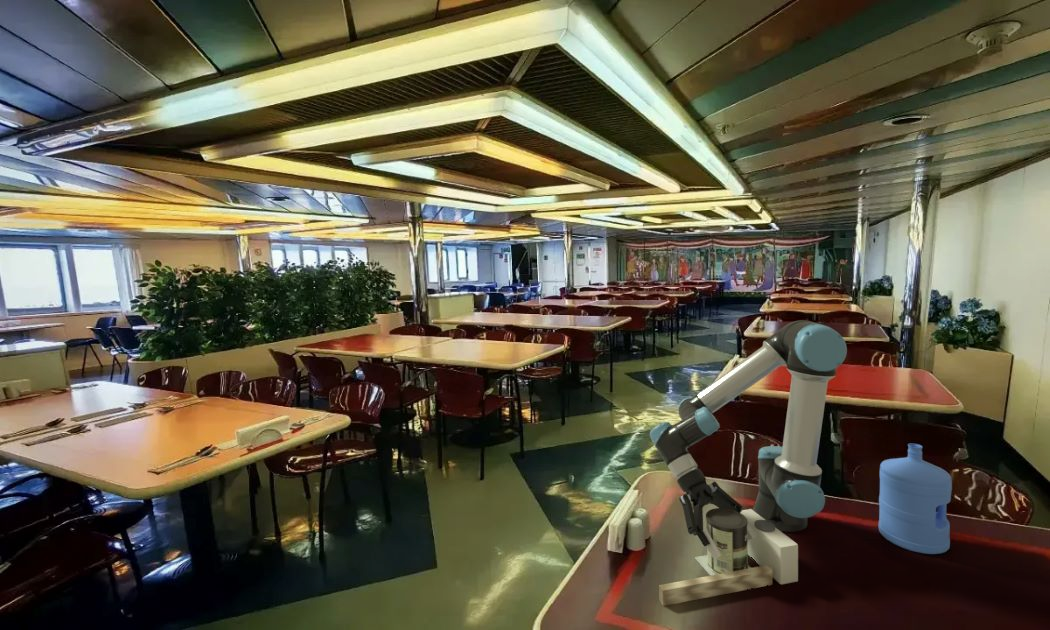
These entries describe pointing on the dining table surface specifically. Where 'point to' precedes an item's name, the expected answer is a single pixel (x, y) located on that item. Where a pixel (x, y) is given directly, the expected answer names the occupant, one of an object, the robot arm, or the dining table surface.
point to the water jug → (914, 503)
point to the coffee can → (727, 540)
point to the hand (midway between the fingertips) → (734, 548)
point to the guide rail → (715, 585)
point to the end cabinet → (768, 549)
